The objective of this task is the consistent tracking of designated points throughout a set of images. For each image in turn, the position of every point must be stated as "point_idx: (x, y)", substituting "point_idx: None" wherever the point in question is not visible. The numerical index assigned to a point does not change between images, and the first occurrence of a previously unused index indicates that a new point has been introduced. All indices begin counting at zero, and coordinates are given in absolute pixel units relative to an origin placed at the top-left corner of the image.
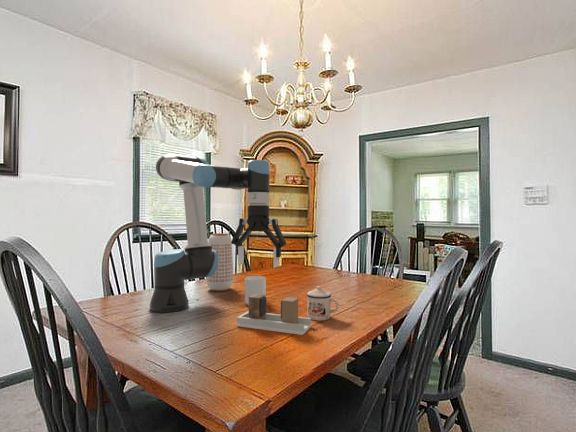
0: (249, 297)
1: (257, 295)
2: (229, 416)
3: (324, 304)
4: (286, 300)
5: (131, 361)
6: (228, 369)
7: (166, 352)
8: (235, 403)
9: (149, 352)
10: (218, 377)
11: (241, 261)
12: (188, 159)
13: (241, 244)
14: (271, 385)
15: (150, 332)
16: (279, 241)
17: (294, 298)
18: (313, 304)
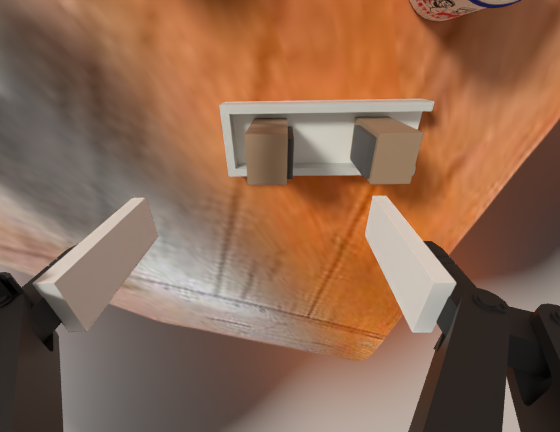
0: (250, 183)
1: (264, 155)
2: (360, 359)
3: None
4: (385, 180)
5: (198, 325)
6: (320, 310)
7: (213, 300)
8: (357, 348)
9: (192, 305)
10: (319, 324)
11: (145, 232)
12: None
13: (28, 303)
14: (383, 321)
15: None
16: (518, 400)
17: (410, 144)
18: (462, 9)
